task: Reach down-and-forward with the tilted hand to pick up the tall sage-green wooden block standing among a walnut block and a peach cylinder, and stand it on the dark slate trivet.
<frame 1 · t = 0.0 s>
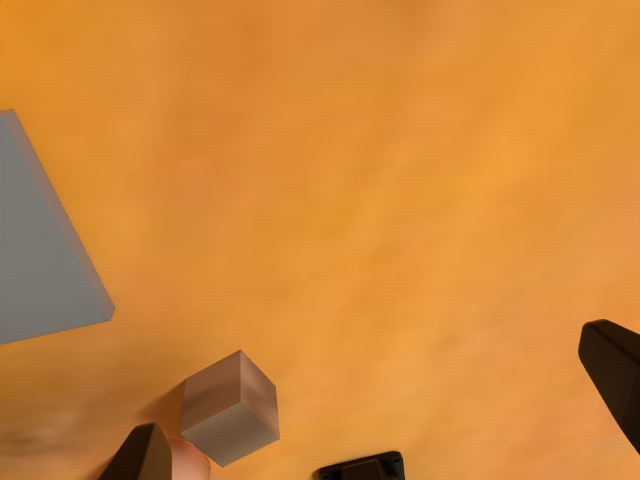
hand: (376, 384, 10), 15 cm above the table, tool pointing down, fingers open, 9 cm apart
walnut block: (231, 381, 29), on the table
peach cylinder: (159, 470, 33), on the table
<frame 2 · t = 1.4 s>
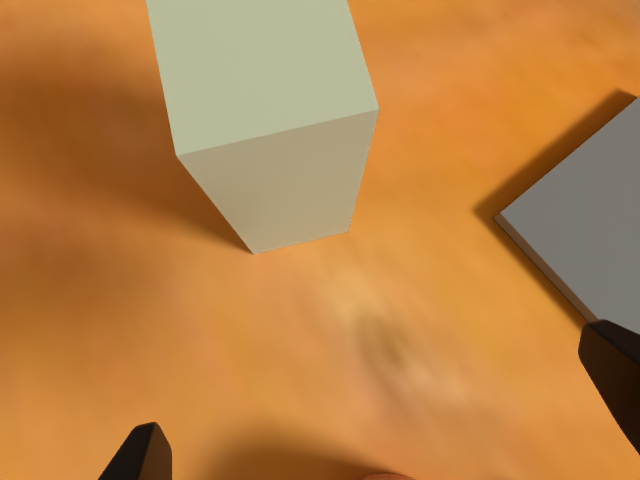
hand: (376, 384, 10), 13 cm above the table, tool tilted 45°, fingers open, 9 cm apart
sage block: (290, 197, 24), on the table
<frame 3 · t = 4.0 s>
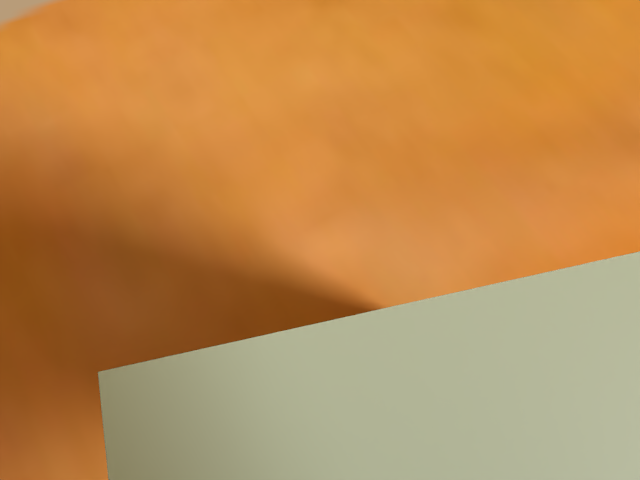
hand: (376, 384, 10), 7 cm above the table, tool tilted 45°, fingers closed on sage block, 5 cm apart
sage block: (364, 413, 16), on the table, touching gripper
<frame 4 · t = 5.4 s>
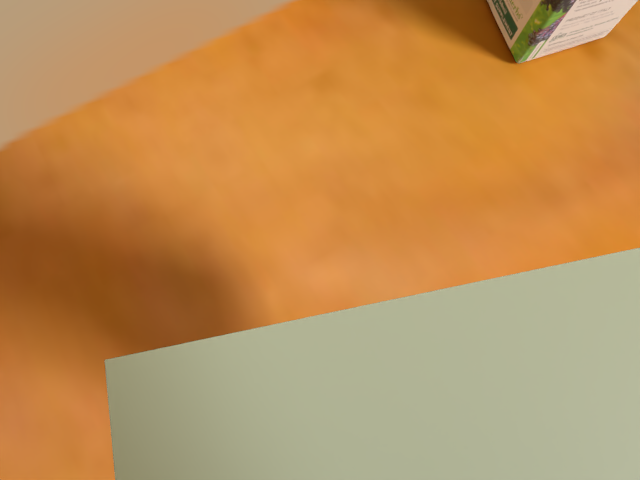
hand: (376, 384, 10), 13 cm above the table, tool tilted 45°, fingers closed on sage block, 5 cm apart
syrup box: (539, 14, 27), on the table
sage block: (368, 412, 16), point 7 cm above the table, touching gripper
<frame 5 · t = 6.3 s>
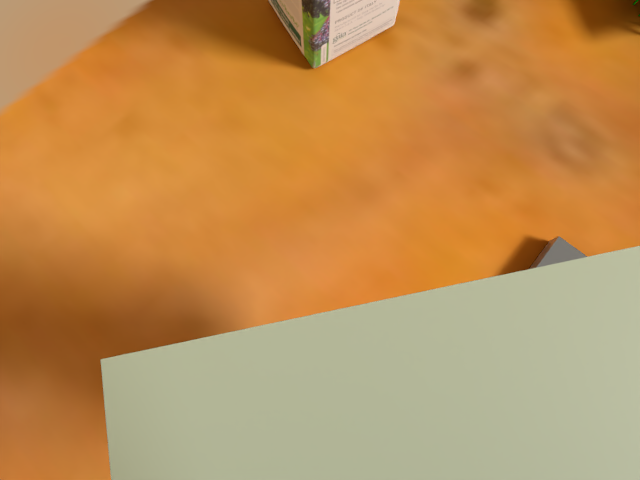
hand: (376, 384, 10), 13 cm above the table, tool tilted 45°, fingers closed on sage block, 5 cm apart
syrup box: (331, 15, 28), on the table
slate trivet: (583, 397, 22), on the table
sage block: (367, 411, 16), point 7 cm above the table, touching gripper
when the fingers open (8 cm above the table, at t = 8.8 s): sage block stays where it is, resting on slate trivet.
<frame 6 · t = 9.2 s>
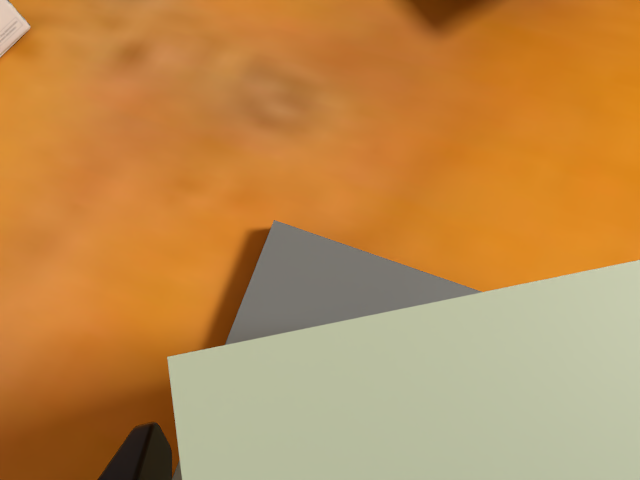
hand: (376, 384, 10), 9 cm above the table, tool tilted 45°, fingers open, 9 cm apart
slate trivet: (360, 405, 18), on the table
sage block: (363, 408, 17), point 1 cm above the table, touching slate trivet
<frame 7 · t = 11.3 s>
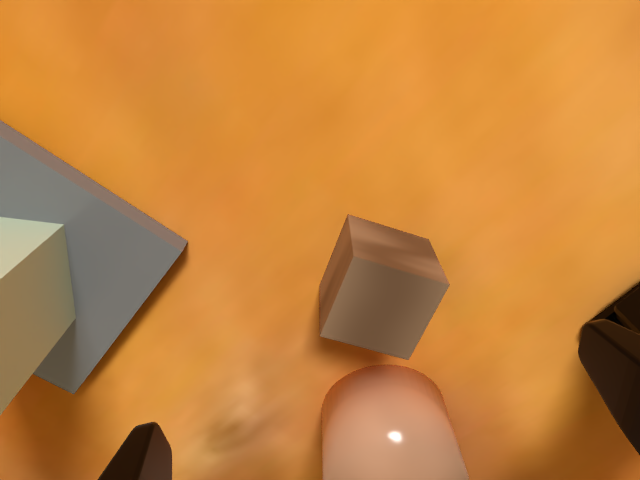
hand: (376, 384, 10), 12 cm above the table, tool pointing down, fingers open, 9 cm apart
walnut block: (372, 262, 22), on the table
slate trivet: (26, 257, 22), on the table
peach cylinder: (382, 411, 27), on the table
sage block: (13, 267, 21), point 1 cm above the table, touching slate trivet
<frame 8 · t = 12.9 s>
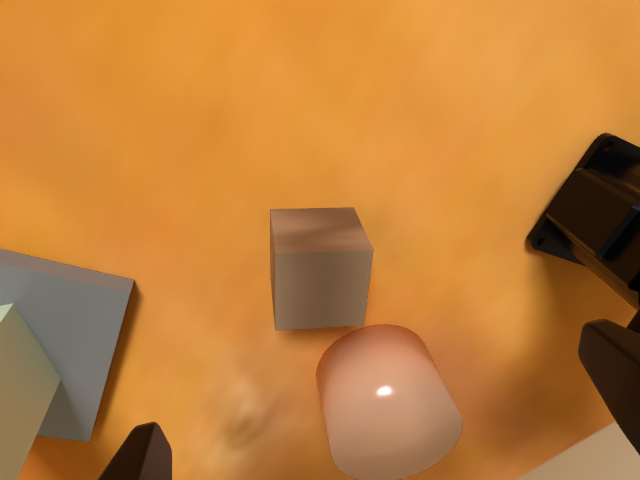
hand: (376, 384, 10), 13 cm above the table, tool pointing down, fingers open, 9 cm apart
walnut block: (310, 243, 23), on the table
peach cylinder: (372, 368, 28), on the table
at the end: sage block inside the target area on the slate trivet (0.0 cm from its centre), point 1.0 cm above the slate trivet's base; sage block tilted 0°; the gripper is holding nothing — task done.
